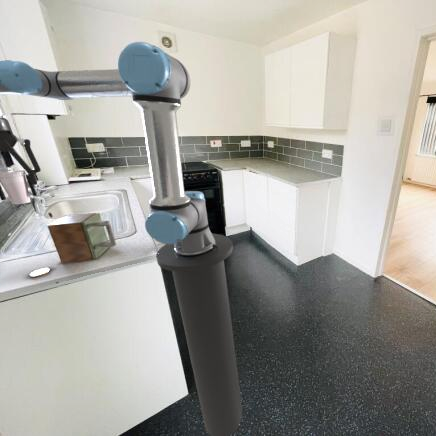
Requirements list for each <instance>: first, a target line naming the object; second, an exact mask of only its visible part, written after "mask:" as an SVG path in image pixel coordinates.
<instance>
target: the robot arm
mask: <svg viewBox="0 0 436 436" xmlns="http://www.w3.org/2000/svg"><path fill="white" fill-rule="evenodd" d="M188 71H189V70H188V69H187V67H186V66H185V65H184V64H183V62H181V61H180V60H179V59H177V58H175V57H173V56H171V55H170V54H168V53H167V52H165V51H164V50H163V49H161V48H160V47H159V46H157V45H153V44H151V43H148V42H146V41H134V42H131V43H129V44H127V45H126V46H125V47H124V49H123V50H121V51H120V54H119V56H118V61H117V68H116V69H114V68H113V69H112V68H111V69H87V70H85V69H84V70H62V71H59V70H58V71H47V70H43V69H38V68H33V66H31V65H30V64H28V63H27V62H23V61H19V60H18V61H17V60H10V59H9V60H8V59H5V60H0V95H1V94H3V95H4V94H5V95H8V94H9V95H10V94H11V95H12V94H13V95H23V96H31V97H38V98H48V99H53V100H58V101H72V100H74V99H86V98H87V99H88V98H89V99H91V98H92V99H93V98H122V97H123V98H124V97H127V98H128V97H132V102H133V104H134V105H135V106H136V107H137V108H139V109H140V113H141V118H142V125H143V126H142V127H143V130H144V131H143V132H144V138H145V146H146V151H147V158H148V164H149V172H150V178H151V186H152V191H153V195H152V197H151V198H150V199H149V202H148V203H149V210H150V213H149V214H148V216H147V217H146V219H145V221H144V228H145V231H146V233H147V234H148V235H149V237H150V238H151V239H154V240H155V241H156V242H157V243H160V244H164V245H166V244H175V247H174V248H175V253H176V254H177V255H179V256H182V257H195V256H200V255H203V254H206V253H208V252H210V251H212V250H213V249H214V248H218V247H217V246H216V243H215V239H214V237H213V235H212V234H213V232H211V229H210V227H209V221H208V212H207V207H206V199H205V195H204V193H203V192H202V191H198V190H186V191H185V186H184V176H183V167H182V157H181V147H180V138H179V129H178V119H177V111H178V110H179V109H181V106H182V101H181V100H182V99H184V98H185V97H186V96H187V95H188V93H189V91H190V88H191V77H190V74H189V72H188ZM6 116H7V114H6V111H5V108H4V106H3V104H2V100H0V152H3V153H5V152H8V153H9V154H10V155H11V156H12V157H13V158H14V159H15V161H16V162H17V163H18V164H19V165H20V166H21V168H23V170H24V171H25V173H26V174H25V178H26V182H27V183H28V186H29V188H30V191H31V194H32V196H33V197H37V196H38V192H37V191H36V188H35V186H37V185H38V180H37V176H36V174H37V173H41V171H42V169H41V167H40V164H39V163H38V160H37V158H36V156H35V154H34V152H33V150H32V148H31V140H30V139H28V138H25V139H24V138H19V137H17V136H16V135H15V134H14V132H13V129H12V127H11V124H10V122H9V119H7V118H5V117H6ZM17 143H19V144H20V146H22V147H24V150H25V152H26V154H27V156H28V158H29V161H30V163H31V165H32V166H33V167H30V165H29V164H28V163H27V162H26V161H25V160H24V159H23V157H22V156H21V155H20V154H19V153H18V151H17V150H16V149H15V146H16V145H17ZM2 187H3V186H2V184H0V201H5V200H6V199H7V197H6V194H5V192H4V189H3V188H2Z"/></svg>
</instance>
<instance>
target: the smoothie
mask: <svg viewBox="0 0 436 436" xmlns="http://www.w3.org/2000/svg"><path fill="white" fill-rule="evenodd" d="M0 162H1V165H2V167H3V169H4V171H0V185H1V187H3V188H2V189H3V190H4V191H5V192H6V195H8V197H9V199H10V200H11V202H12V204H13V205H24V204H29V203H31V202H32V201H31V197H30V193H29V187H28V184H27V183H28V181H27V178H26V175H27V172H26V171H25V170H8V167H7V165H6V163H5V160H4V159H3V157H0Z"/></svg>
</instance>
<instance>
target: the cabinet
mask: <svg viewBox="0 0 436 436" xmlns="http://www.w3.org/2000/svg"><path fill="white" fill-rule="evenodd" d="M96 213H97V212H88V213H77V214H75V213H74V214H66V215H64V216H62V217H60V218H58V219H56V220H55V221H53V222H50V223H49V224H47V225H46V226H47V229H48V231H49V234H50V236H51V239H52V242H53V244H54V247H55V250H56V252H57V256H58V257H59V260H60V262H61V264H66V263H74V262H75V263H76V262H83V261H91V260H94V259H93V256H92V253H91V250H90V247H89V244H88V241H87V238H86V235H85V232H84V229H83V226H82V222H84V221H85V220H87V219H88V218H90V217H91V216H93V215H95V214H96Z"/></svg>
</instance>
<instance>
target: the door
mask: <svg viewBox="0 0 436 436" xmlns="http://www.w3.org/2000/svg"><path fill="white" fill-rule="evenodd" d="M95 213H96V214H95V215H93V216H91V217H90V218H88V219H87V220H85V221H84V222H82V226H83V229H84V232H85V235H86V238H87V241H88V244H89V247H90V250H91V253H92V256H93V260H97V259H98V258H99V257H100V256H101V255H102V254H103V253H104V252H105V251H106V250H107V249H108V248H111V247H116V246H117V245H118V244H117V241H116V237H115V234H114V231H113V227H112V224H111V221H110V220H102V217H101V213H100V212H95ZM105 228H106V230H105ZM106 231H107V234H106ZM107 235H108V237H107ZM108 239H109V240H108Z"/></svg>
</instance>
